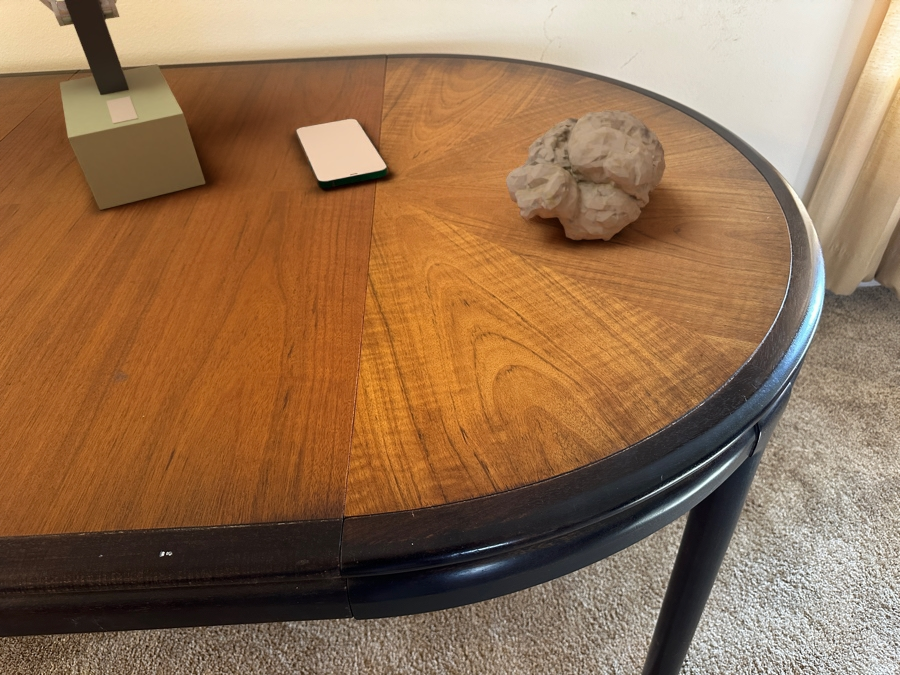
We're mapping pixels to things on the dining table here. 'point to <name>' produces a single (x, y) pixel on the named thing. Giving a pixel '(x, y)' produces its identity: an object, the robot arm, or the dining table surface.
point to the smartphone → (340, 153)
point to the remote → (97, 45)
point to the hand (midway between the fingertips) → (89, 18)
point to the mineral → (590, 174)
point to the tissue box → (130, 138)
